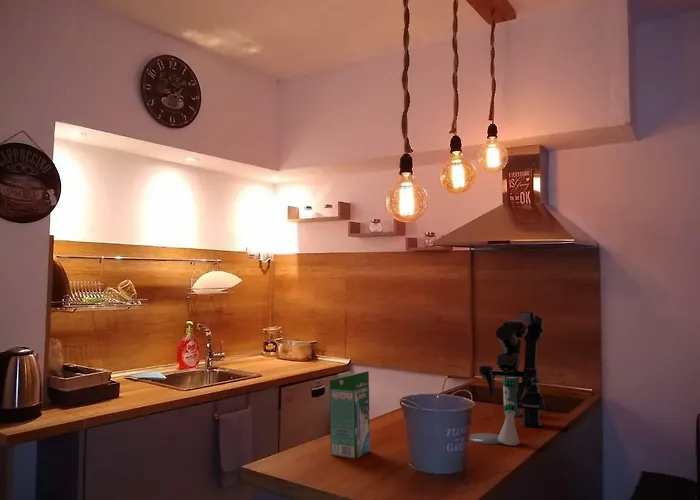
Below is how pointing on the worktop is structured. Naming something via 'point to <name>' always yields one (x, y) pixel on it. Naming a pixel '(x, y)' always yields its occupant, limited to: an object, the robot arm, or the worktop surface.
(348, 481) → the worktop surface
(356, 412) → the milk carton
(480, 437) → the slate coaster
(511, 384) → the can
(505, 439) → the flask
